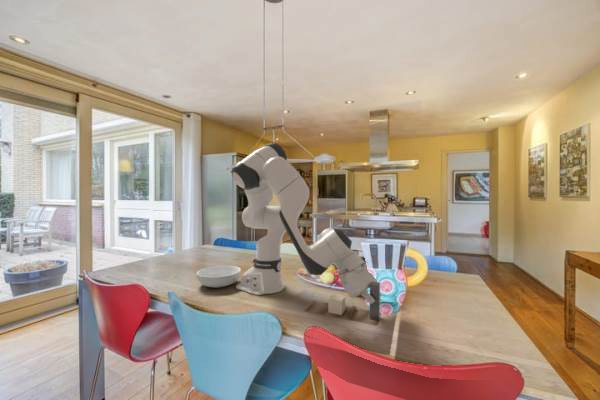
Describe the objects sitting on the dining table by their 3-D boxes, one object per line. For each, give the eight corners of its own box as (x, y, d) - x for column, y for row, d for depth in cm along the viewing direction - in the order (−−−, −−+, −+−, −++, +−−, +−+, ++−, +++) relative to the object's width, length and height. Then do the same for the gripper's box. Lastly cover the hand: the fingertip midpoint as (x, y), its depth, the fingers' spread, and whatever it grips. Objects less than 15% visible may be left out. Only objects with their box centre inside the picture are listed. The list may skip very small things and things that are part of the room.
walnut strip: (304, 314, 95) (304, 278, 95) (313, 303, 105) (313, 271, 104) (377, 329, 85) (377, 288, 85) (381, 316, 94) (381, 279, 94)
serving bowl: (246, 278, 138) (246, 265, 137) (232, 293, 117) (232, 277, 117) (208, 277, 140) (208, 264, 139) (188, 291, 119) (188, 276, 119)
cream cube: (328, 312, 94) (328, 298, 94) (332, 307, 99) (332, 293, 99) (341, 315, 92) (341, 300, 92) (345, 309, 97) (345, 296, 97)
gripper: (342, 267, 86) (370, 304, 80) (368, 256, 102) (393, 286, 96) (330, 278, 89) (357, 315, 83) (357, 265, 105) (381, 295, 99)
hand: (376, 299), depth 89 cm, fingers closed on walnut strip, 4 cm apart
